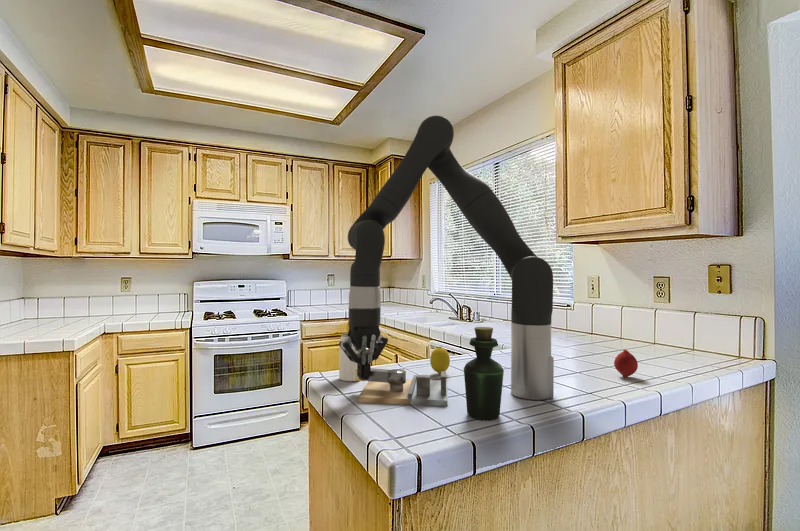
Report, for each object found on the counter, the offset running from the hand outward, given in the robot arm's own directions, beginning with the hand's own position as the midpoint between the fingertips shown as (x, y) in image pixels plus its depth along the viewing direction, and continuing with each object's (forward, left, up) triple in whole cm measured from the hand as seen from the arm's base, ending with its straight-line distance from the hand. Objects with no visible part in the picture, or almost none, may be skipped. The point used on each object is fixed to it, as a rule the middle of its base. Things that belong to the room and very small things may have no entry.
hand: (363, 379), depth 97 cm
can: (+6, -15, -4) cm, 17 cm away
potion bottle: (-27, +9, -4) cm, 29 cm away
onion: (-70, -27, -4) cm, 75 cm away
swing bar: (-4, -2, -1) cm, 5 cm away
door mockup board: (-10, -4, -4) cm, 11 cm away
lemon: (-18, -23, -4) cm, 29 cm away
